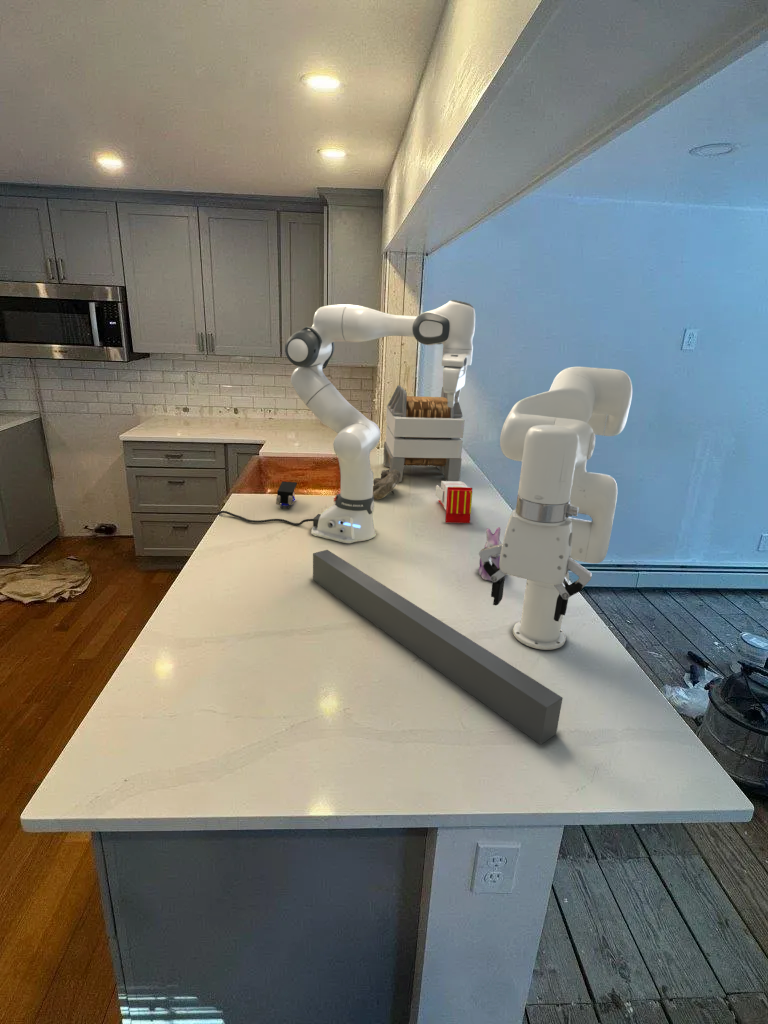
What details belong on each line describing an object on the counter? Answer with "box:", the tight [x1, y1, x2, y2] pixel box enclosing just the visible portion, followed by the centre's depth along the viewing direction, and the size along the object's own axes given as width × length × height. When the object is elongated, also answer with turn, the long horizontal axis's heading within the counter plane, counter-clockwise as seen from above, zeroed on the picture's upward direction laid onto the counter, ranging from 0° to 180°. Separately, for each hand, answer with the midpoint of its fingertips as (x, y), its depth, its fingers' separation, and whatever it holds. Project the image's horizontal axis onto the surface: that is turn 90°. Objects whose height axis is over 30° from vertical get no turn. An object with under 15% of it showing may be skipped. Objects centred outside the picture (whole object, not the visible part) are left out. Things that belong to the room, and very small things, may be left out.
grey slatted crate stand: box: [383, 384, 465, 483], centre depth 268 cm, size 34×33×41 cm
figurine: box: [478, 526, 503, 582], centre depth 169 cm, size 9×10×15 cm
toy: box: [435, 480, 473, 524], centre depth 223 cm, size 12×13×30 cm
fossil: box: [373, 469, 401, 501], centre depth 241 cm, size 22×10×15 cm
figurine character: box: [275, 480, 298, 509], centre depth 223 cm, size 7×8×15 cm
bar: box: [312, 549, 564, 746], centre depth 134 cm, size 80×5×8 cm, turn 38°
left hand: (453, 404), depth 174 cm, fingers open, 8 cm apart
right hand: (526, 609), depth 91 cm, fingers open, 9 cm apart
